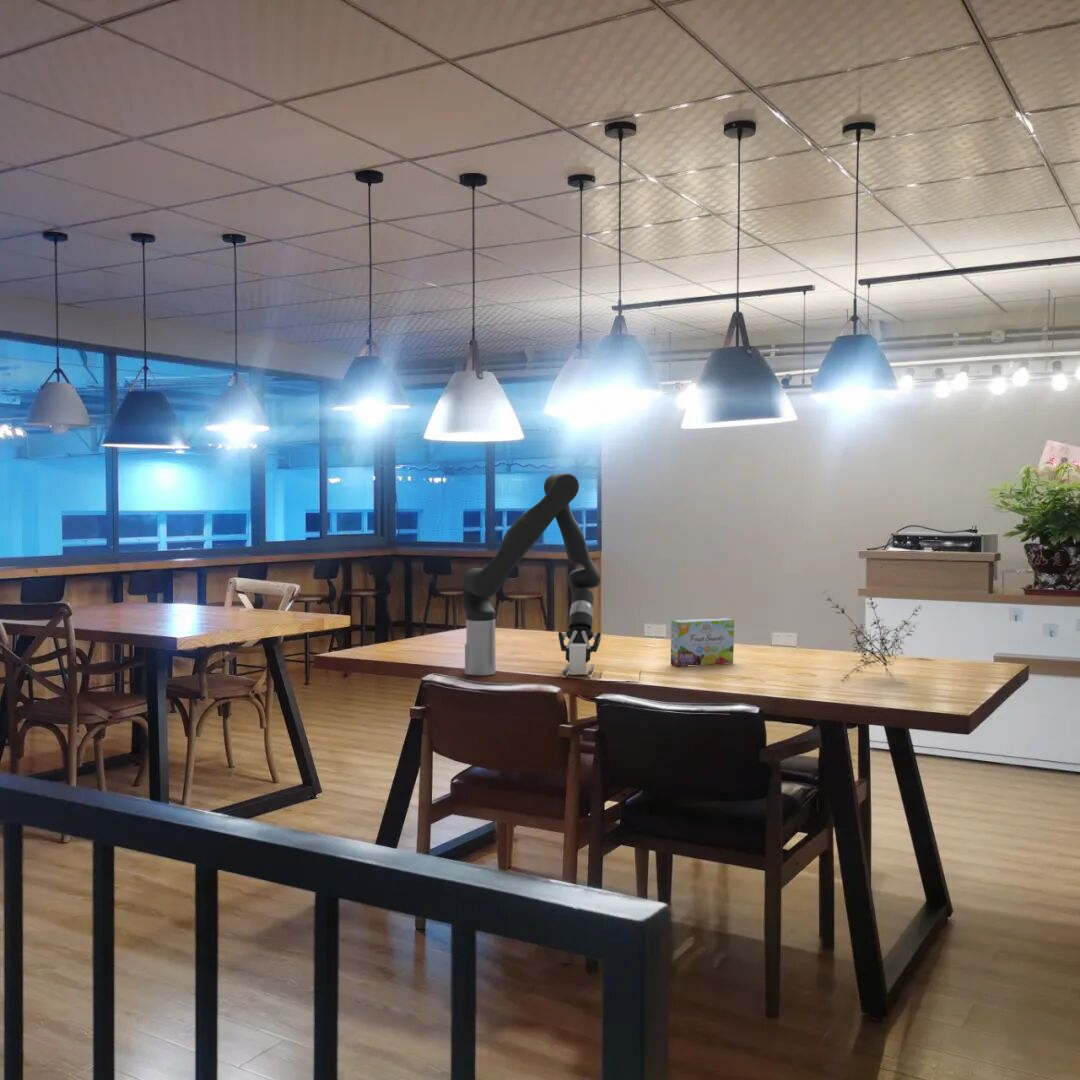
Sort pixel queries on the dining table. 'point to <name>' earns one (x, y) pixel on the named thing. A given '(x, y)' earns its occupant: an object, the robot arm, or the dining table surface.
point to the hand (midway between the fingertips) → (577, 660)
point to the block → (577, 658)
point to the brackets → (568, 670)
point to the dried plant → (876, 640)
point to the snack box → (702, 641)
